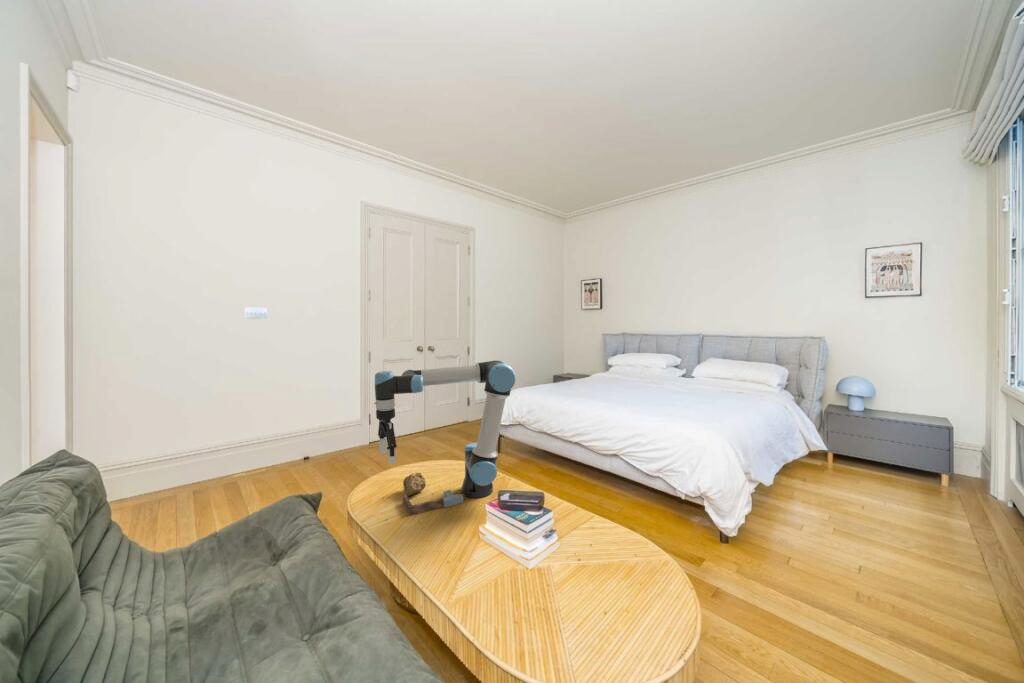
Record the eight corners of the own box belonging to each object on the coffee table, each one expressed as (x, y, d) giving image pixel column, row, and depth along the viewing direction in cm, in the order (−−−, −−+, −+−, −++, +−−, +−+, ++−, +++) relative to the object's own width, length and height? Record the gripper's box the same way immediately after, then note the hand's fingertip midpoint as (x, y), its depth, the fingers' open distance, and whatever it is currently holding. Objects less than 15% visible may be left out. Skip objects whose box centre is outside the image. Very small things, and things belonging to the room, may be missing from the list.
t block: (455, 494, 186) (455, 488, 186) (463, 502, 178) (463, 496, 178) (437, 499, 182) (437, 492, 181) (444, 507, 174) (444, 501, 174)
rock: (402, 490, 190) (401, 470, 190) (423, 486, 195) (422, 467, 194) (406, 501, 180) (405, 480, 179) (428, 496, 184) (428, 476, 183)
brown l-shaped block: (434, 495, 185) (434, 488, 185) (443, 506, 175) (443, 499, 174) (402, 503, 178) (402, 495, 178) (410, 515, 167) (409, 507, 167)
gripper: (369, 404, 172) (371, 451, 174) (383, 416, 151) (386, 470, 153) (386, 401, 176) (388, 447, 178) (403, 413, 155) (405, 465, 157)
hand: (387, 458), depth 165 cm, fingers open, 13 cm apart
